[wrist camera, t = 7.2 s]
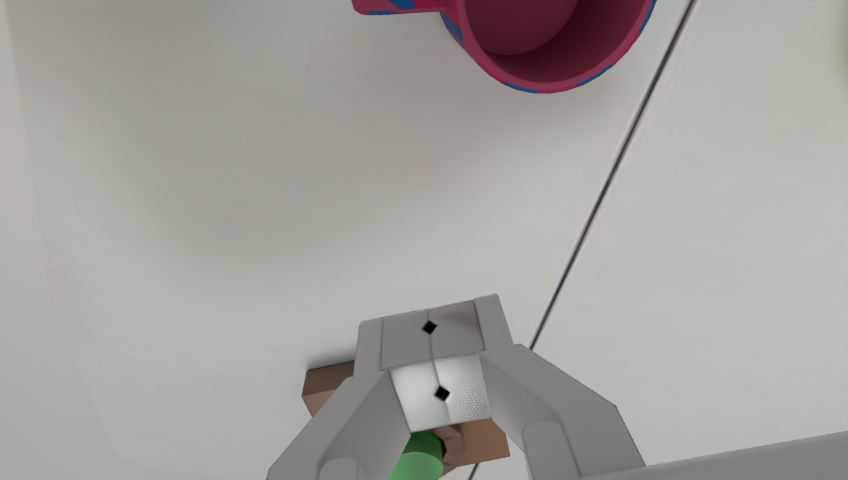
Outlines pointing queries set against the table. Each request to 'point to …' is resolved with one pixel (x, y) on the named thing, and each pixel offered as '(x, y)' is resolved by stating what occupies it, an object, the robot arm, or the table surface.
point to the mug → (534, 36)
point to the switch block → (456, 439)
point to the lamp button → (420, 458)
